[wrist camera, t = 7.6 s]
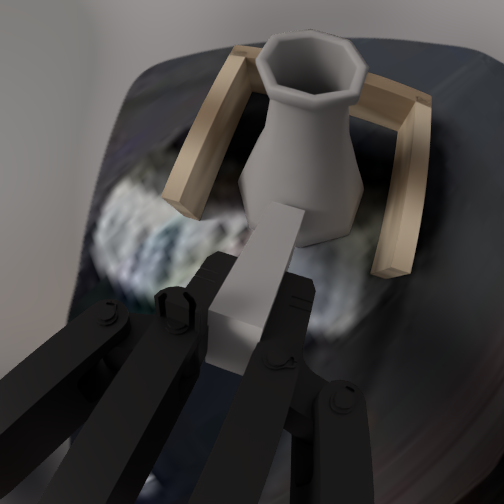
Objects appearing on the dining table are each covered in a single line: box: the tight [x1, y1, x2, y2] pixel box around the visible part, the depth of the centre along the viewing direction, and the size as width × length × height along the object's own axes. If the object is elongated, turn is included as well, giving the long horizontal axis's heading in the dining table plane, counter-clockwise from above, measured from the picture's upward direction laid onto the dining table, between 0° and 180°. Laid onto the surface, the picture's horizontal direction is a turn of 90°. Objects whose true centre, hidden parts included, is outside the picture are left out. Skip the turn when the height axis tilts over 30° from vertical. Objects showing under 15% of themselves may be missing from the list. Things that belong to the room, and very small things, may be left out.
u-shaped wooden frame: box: [161, 45, 431, 279], centre depth 15 cm, size 11×12×4 cm
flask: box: [238, 29, 369, 248], centre depth 12 cm, size 7×7×10 cm
